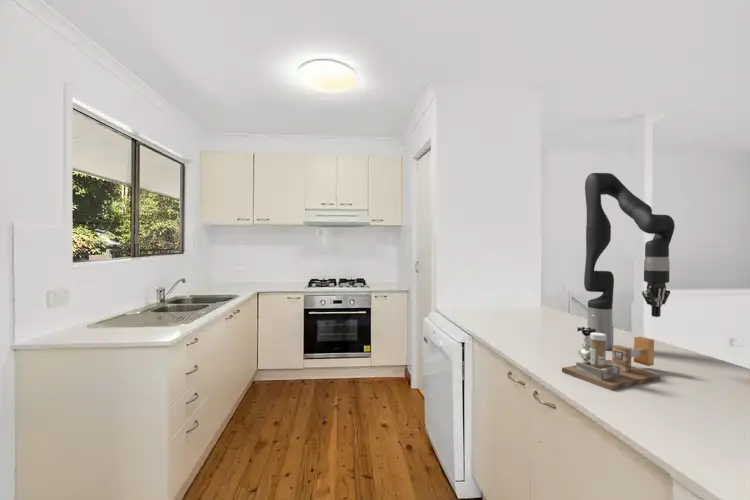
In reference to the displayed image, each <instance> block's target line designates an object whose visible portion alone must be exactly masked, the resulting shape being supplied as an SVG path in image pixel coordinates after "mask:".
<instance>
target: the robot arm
mask: <svg viewBox="0 0 750 500" xmlns="http://www.w3.org/2000/svg"><path fill="white" fill-rule="evenodd" d="M584 194H585V195H584V196H585V203H586V204H585V206H586V225H585V226H586V227H585V229H586V231H585V248H586V249H585V252H586V253H585V265H584V279H583V285H584V289H585V291H586V292H589V293H590V292H591V293H602V294H601V295H600V296H598V297H595V298H591V299H590V300H588V301H587V328H591V329H596V333H603V334H606V342H605V343H606V344H605V345H606V346H605V351H606V350H607V351H608V350H612V349H613V346H614V325H613V303H614V289H615V277H614V274H613V272H612V271H610V270H609V271H608V270H595V268H596V264H597V261H599V258H600V256H601V255H602V254H603V253H604V251H605V250H606V249H607V247H608V246H609V244H610V243H611V239H612V225H611V223H610V219H609V218H608V216H607V214H606V212H605V211H604V209H603V205H602V195H604V196H605V195H608V196H610V197H612V198H614V199H615V200H616V201H617V203H618V207H619V208H620V210H621V211H622V212H623V213H624V214H626V215H627V216H628V217H630V218H631V219H632V220H634V223H635V224H636V226H637V227H638V228H639V230H641V231H642V232H643V233H645V234H649V235H653V234H654V235H653V238H652V239H651V240H648V241H646V242H645V245H644V262H643V281H644V282H645V283H647V284H646V289H645V291H641V295H642V296H643V299H644V300H645V302H646V304H647V305H649V306H651V314H650V315H651V317H653V318H654V317H655V318H660V317H661V314H662V313H661V312H662V311H661V307H663V305H665V304H666V302H667V300H668V299H669V297H670V295H671V291H670V290H667V285H666V284H668V283H669V282H670V268H671V267H670V265H671V264H670V258H669V257H670V243H671V240H672V237H673V235H674V232H675V221H674V219H673V217H672V216H671V215H669V214H654V213H653V208H652V206H650V205H649V204H647V203H646V202H645V201H643V200H642V199H640V198H639V197H638V196H636V195H635V194H634V193H632V192H631V191H630V189H628V188H627V187H626V185H624V184H623V183H622V181H621V180H620V179H618V178H617V176H616V175H614V174H613V173H610V172H591V173H589V174H588V176H586V179H585V182H584ZM590 336H591V335H589V336H588V338H589V342H588V343H589V345H591V338H590Z"/></svg>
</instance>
